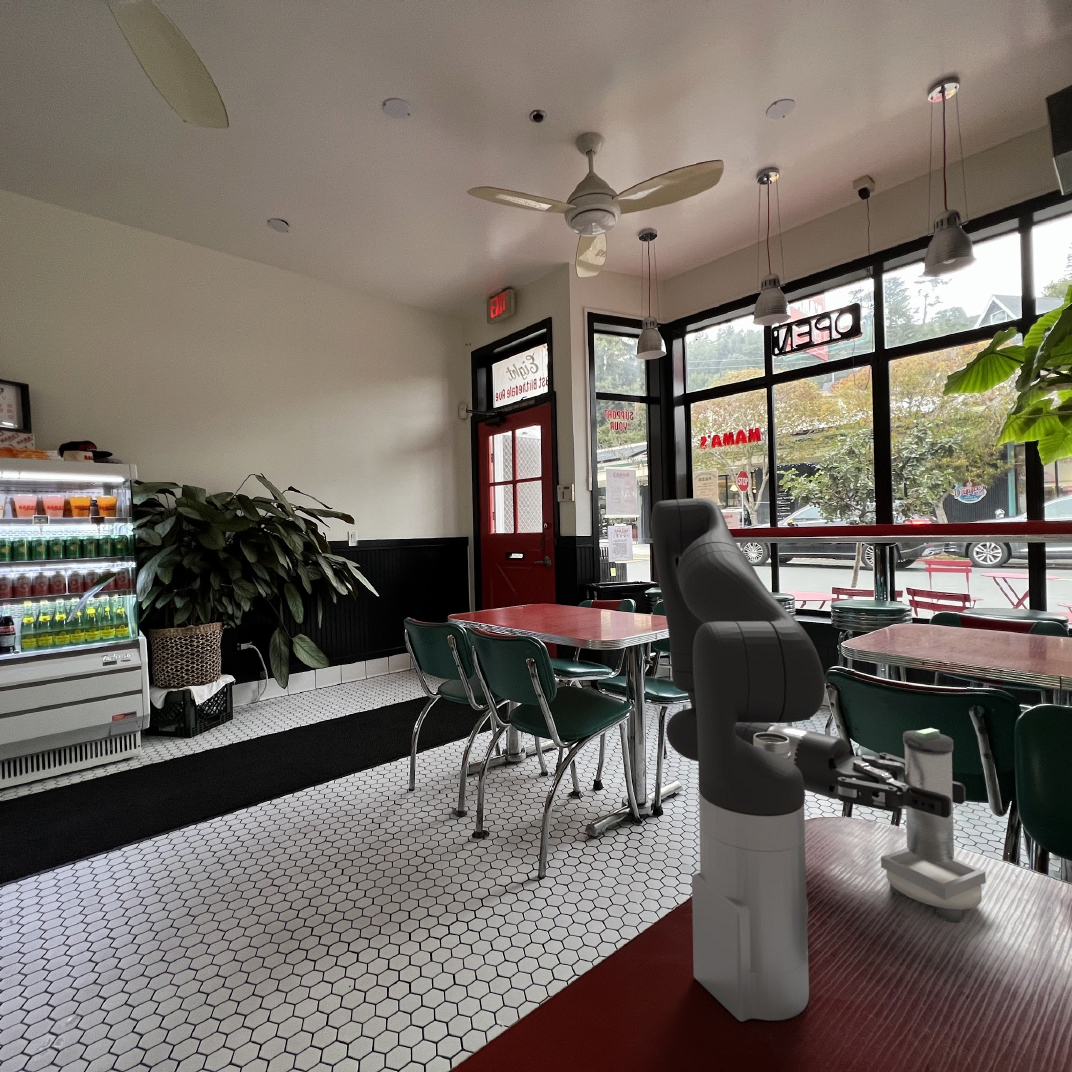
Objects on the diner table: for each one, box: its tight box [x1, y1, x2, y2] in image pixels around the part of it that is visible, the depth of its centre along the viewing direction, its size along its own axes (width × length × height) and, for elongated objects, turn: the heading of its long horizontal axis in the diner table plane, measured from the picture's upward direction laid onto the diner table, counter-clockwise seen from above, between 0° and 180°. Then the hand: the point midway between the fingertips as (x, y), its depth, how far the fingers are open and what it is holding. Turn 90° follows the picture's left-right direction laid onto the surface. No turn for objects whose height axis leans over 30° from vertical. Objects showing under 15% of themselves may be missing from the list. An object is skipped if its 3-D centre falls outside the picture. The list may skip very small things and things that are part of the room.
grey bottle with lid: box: [902, 727, 955, 862], centre depth 68 cm, size 5×5×14 cm
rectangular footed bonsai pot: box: [880, 847, 987, 923], centre depth 68 cm, size 9×9×4 cm
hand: (956, 800), depth 66 cm, fingers closed on grey bottle with lid, 4 cm apart
